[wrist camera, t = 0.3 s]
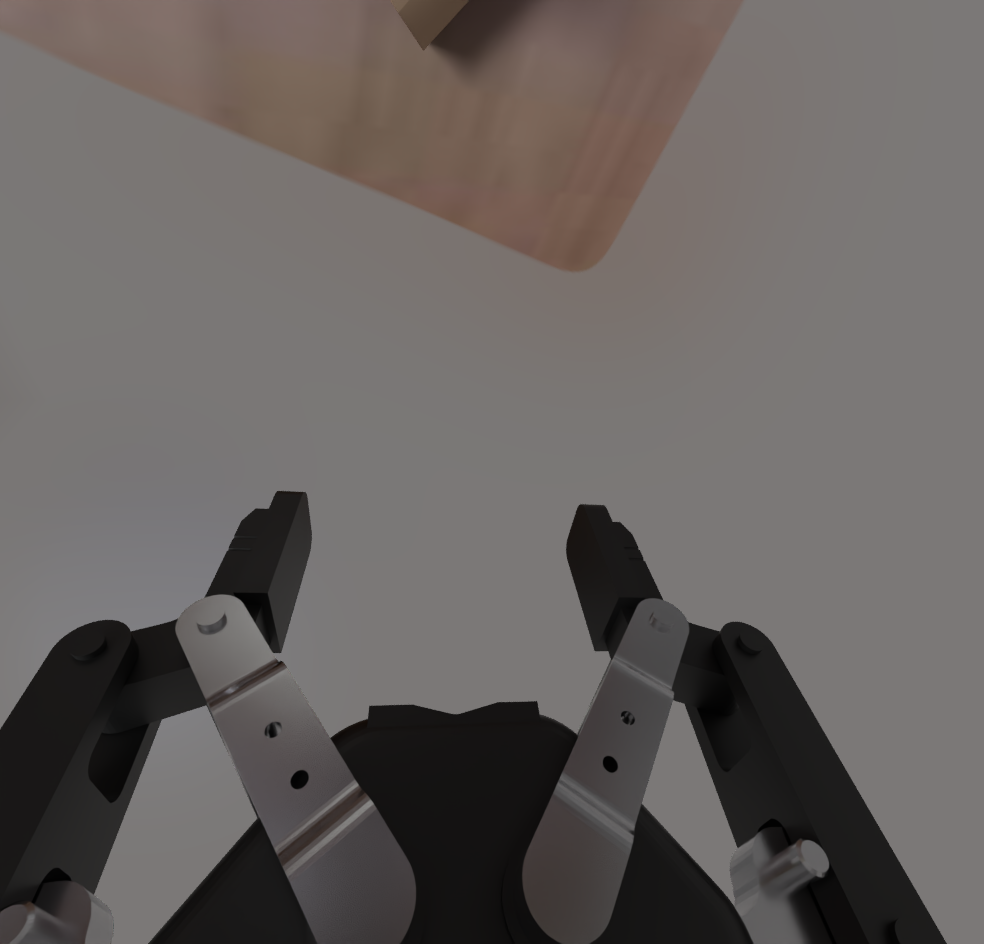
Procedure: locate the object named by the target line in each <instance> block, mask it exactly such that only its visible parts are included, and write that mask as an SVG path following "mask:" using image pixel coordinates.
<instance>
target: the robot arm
mask: <svg viewBox="0 0 984 944" xmlns="http://www.w3.org/2000/svg"><path fill="white" fill-rule="evenodd" d="M311 541H312V531H311V523H310V516H309V507H308V498H307V494H306V492H290V491H277V492H276V494H275V496H274V498H273V500H272V503H271V505H270V507H269V509H255V510H254V511H252V512H251V513H250V514H249V515H248V516H247V517H245V519H243V520H242V521H241V523H240V525H239V527H238V529H237V531H236V533H235V536H234V539H233V540H232V542H231V544H230V546H229V550H228V551H227V552H226V554H225V557H224V558H223V561H222V563H221V565H220V567H219V569H218V571H217V573H216V575H215V578H214V579H213V582H212V584H211V586H210V588H209V590H208V592H207V594H206V596H205V598H203V599H201V600H198V601H197V602H195V603H193V604H192V605H190V606H189V607H188V608H187V609H186V610H184V612H183V613H182V614H181V615H180V617H179V618H178V619H176V620H174V621H171V622H167V623H164V624H160V625H156V626H152V627H148V628H144V629H139V630H135V631H130V629H129V628H128V627H127V625H125V624H124V623H121V622H119V621H115V620H102V621H96V622H92V623H89V624H86V625H84V626H81V627H79V628H77V629H75V630H73V631H72V632H70V633H69V634H67V635H66V636H64V637H63V638H62V639H61V640H60V641H59V642H58V643H57V644H56V645H55V646H54V647H53V649H52V650H51V651H50V653H49V654H48V656H47V658H46V659H45V661H44V662H43V664H42V665H41V667H40V669H39V670H38V672H37V673H36V675H35V676H34V678H33V679H32V681H31V682H30V684H29V686H28V687H27V689H26V690H25V692H24V693H23V695H22V696H21V698H20V700H19V701H18V703H17V704H16V706H15V707H14V709H13V710H12V712H11V714H10V715H9V717H8V718H7V720H6V721H5V723H4V724H3V726H2V727H1V729H0V944H111V941H112V937H113V929H114V923H113V916H112V913H111V911H110V909H109V908H108V906H107V905H106V904H105V903H103V902H102V901H101V900H100V899H98V898H97V897H96V896H94V893H95V890H96V888H97V885H98V882H99V880H100V877H101V875H102V872H103V869H104V867H105V864H106V862H107V859H108V857H109V854H110V851H111V849H112V846H113V844H114V841H115V839H116V836H117V833H118V831H119V828H120V826H121V823H122V820H123V818H124V815H125V813H126V810H127V808H128V805H129V803H130V800H131V797H132V795H133V792H134V790H135V787H136V784H137V782H138V779H139V777H140V774H141V771H142V769H143V766H144V764H145V761H146V758H147V756H148V754H149V751H150V748H151V746H152V743H153V741H154V738H155V736H156V733H157V730H158V728H159V725H160V723H161V720H162V719H164V718H167V717H171V716H174V715H177V714H180V713H183V712H186V711H190V710H193V709H196V708H199V707H202V706H205V705H207V707H208V709H209V712H210V714H211V716H212V718H213V721H214V723H215V725H216V727H217V730H218V732H219V734H220V736H221V738H222V741H223V743H224V745H225V747H226V749H227V752H228V754H229V756H230V758H231V760H232V763H233V765H234V767H235V770H236V772H237V774H238V776H239V778H240V781H241V783H242V785H243V788H244V790H245V792H246V794H247V797H248V799H249V801H250V803H251V806H252V808H253V810H254V812H255V814H256V816H257V820H256V821H255V822H254V823H253V824H252V825H251V826H250V827H249V829H248V830H247V831H246V832H245V833H244V834H243V836H242V837H241V838H240V839H239V840H238V841H237V842H236V844H235V845H234V846H233V847H232V848H231V849H230V850H229V852H228V853H227V854H226V855H225V856H224V857H223V858H222V860H221V861H220V862H219V863H218V864H217V865H216V866H215V868H214V869H213V870H212V871H211V872H210V873H209V874H208V876H207V877H206V878H205V879H204V880H203V881H202V882H201V884H200V885H199V886H198V887H197V888H196V889H195V890H194V892H193V893H192V894H191V895H190V896H189V897H188V899H187V900H186V901H185V902H184V903H183V904H182V905H181V907H180V908H179V909H178V910H177V911H176V912H175V913H174V915H173V916H172V917H171V918H170V919H169V920H168V921H167V923H166V924H165V925H164V926H163V927H162V928H161V929H160V931H159V932H158V933H157V934H156V935H155V936H154V938H153V939H152V940H151V941H150V942H149V943H148V944H947V943H946V942H945V940H944V938H943V936H942V935H941V933H940V931H939V930H938V928H937V926H936V925H935V923H934V921H933V919H932V918H931V916H930V914H929V912H928V911H927V909H926V907H925V905H924V904H923V902H922V900H921V899H920V897H919V895H918V893H917V892H916V890H915V888H914V887H913V885H912V883H911V881H910V880H909V878H908V876H907V874H906V873H905V871H904V869H903V868H902V866H901V864H900V862H899V861H898V859H897V857H896V856H895V854H894V852H893V850H892V849H891V847H890V845H889V843H888V842H887V840H886V838H885V836H884V835H883V833H882V831H881V830H880V828H879V826H878V824H877V823H876V821H875V819H874V817H873V816H872V814H871V812H870V811H869V809H868V807H867V806H866V804H865V802H864V800H863V799H862V797H861V795H860V793H859V792H858V790H857V788H856V786H855V785H854V783H853V781H852V780H851V778H850V776H849V774H848V773H847V771H846V770H845V768H844V766H843V764H842V762H841V761H840V759H839V757H838V755H837V754H836V752H835V750H834V749H833V747H832V745H831V743H830V742H829V740H828V738H827V736H826V735H825V733H824V731H823V730H822V728H821V726H820V725H819V723H818V721H817V719H816V718H815V716H814V714H813V712H812V711H811V709H810V707H809V705H808V704H807V702H806V701H805V699H804V697H803V695H802V694H801V692H800V690H799V688H798V687H797V685H796V683H795V681H794V680H793V678H792V676H791V675H790V673H789V671H788V669H787V668H786V666H785V664H784V662H783V661H782V659H781V657H780V656H779V654H778V652H777V650H776V649H775V647H774V645H773V644H772V642H771V641H770V640H769V639H768V638H767V637H766V636H765V635H764V634H763V633H762V632H761V631H759V630H758V629H756V628H754V627H752V626H751V625H748V624H745V623H742V622H730V623H727V624H725V625H724V626H723V628H722V629H721V631H720V632H719V631H716V630H712V629H708V628H705V627H702V626H698V625H695V624H692V623H689V622H688V621H687V620H686V618H685V616H684V615H683V614H682V612H681V611H680V610H679V609H678V608H676V607H675V606H674V605H672V604H670V603H669V602H666V601H664V600H663V598H662V596H661V594H660V592H659V590H658V588H657V586H656V584H655V582H654V579H653V577H652V575H651V573H650V571H649V569H648V567H647V565H646V563H645V561H643V557H642V554H641V552H640V550H638V546H637V544H636V542H635V539H634V537H633V535H632V534H631V533H630V532H629V531H628V530H627V529H626V528H625V527H624V526H623V525H622V524H621V523H620V522H612V519H611V517H610V515H609V513H608V510H607V508H606V507H605V506H604V505H586V504H585V505H584V504H581V505H579V506H578V508H577V511H576V514H575V517H574V520H573V523H572V526H571V530H570V533H569V536H568V539H567V547H566V554H567V560H568V563H569V567H570V570H571V573H572V577H573V580H574V583H575V586H576V590H577V593H578V597H579V600H580V603H581V607H582V610H583V613H584V617H585V620H586V624H587V627H588V630H589V634H590V637H591V640H592V644H593V647H594V650H595V651H609V654H610V658H611V661H610V663H609V665H608V667H607V669H606V671H605V673H604V676H603V678H602V680H601V682H600V684H599V686H598V689H597V691H596V693H595V695H594V697H593V699H592V702H591V704H590V706H589V708H588V710H587V712H586V715H585V717H584V719H583V721H582V723H581V725H580V727H579V729H578V732H577V734H576V733H574V732H573V731H572V730H571V729H569V728H568V727H566V726H565V725H563V724H562V723H560V722H558V721H556V720H554V719H551V718H549V717H546V716H543V715H540V714H539V710H538V703H537V701H536V702H535V701H534V702H498V703H494V704H491V705H488V706H484V707H481V708H478V709H475V710H472V711H468V712H465V713H461V714H449V713H445V712H441V711H436V710H432V709H428V708H424V707H420V706H415V705H386V706H385V705H384V706H369V716H368V719H366V720H363V721H360V722H358V723H355V724H353V725H351V726H348V727H347V728H345V729H343V730H341V731H340V732H338V733H337V734H335V735H334V736H333V737H331V738H330V737H329V736H328V734H327V732H326V731H325V729H324V727H323V726H322V724H321V722H320V721H319V719H318V717H317V716H316V714H315V712H314V711H313V709H312V707H311V706H310V704H309V702H308V701H307V699H306V697H305V696H304V694H303V693H302V691H301V689H300V688H299V686H298V684H297V683H296V681H295V679H294V678H293V676H292V674H291V673H290V671H289V669H288V668H287V667H286V665H285V664H284V663H283V662H282V661H280V662H278V660H277V659H276V658H275V656H274V654H273V653H281V651H282V648H283V644H284V641H285V637H286V634H287V630H288V627H289V624H290V620H291V616H292V613H293V610H294V606H295V602H296V599H297V595H298V592H299V589H300V585H301V582H302V578H303V574H304V571H305V568H306V564H307V561H308V557H309V554H310V549H311ZM673 700H675V701H678V702H681V703H684V704H685V706H686V709H687V712H688V714H689V717H690V720H691V723H692V725H693V728H694V730H695V734H696V736H697V739H698V742H699V744H700V747H701V750H702V753H703V755H704V758H705V761H706V763H707V766H708V769H709V772H710V774H711V777H712V779H713V782H714V785H715V788H716V791H717V793H718V796H719V799H720V801H721V804H722V807H723V810H724V812H725V815H726V818H727V820H728V823H729V826H730V829H731V831H732V834H733V837H734V839H735V842H736V845H737V847H738V849H737V850H736V851H735V852H734V854H733V856H732V858H731V862H730V876H731V880H732V885H733V893H734V897H735V907H734V906H733V904H732V903H731V901H730V900H729V899H728V897H727V896H726V895H725V894H724V892H723V891H722V890H721V889H720V888H719V887H718V886H717V885H716V884H715V883H714V881H713V880H712V879H711V878H710V877H709V876H708V875H707V874H706V873H705V872H704V870H703V869H702V868H701V867H700V866H699V865H698V864H697V863H696V862H695V861H694V860H693V859H692V858H691V856H690V855H689V854H688V853H687V852H686V851H685V850H684V849H683V848H682V847H681V846H680V844H678V842H677V841H676V840H675V839H674V838H673V837H672V836H671V835H670V834H669V833H668V831H667V830H666V829H665V828H664V827H663V826H662V825H661V824H660V823H659V822H658V821H657V820H656V818H655V817H654V816H653V815H652V814H651V813H650V812H649V811H648V810H647V809H646V808H645V807H644V805H642V800H643V797H644V794H645V791H646V787H647V784H648V781H649V777H650V774H651V771H652V767H653V764H654V761H655V758H656V754H657V751H658V748H659V744H660V741H661V738H662V734H663V731H664V728H665V725H666V721H667V718H668V715H669V711H670V708H671V705H672V701H673Z"/></svg>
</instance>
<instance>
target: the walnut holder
mask: <svg viewBox="0 0 984 944" xmlns="http://www.w3.org/2000/svg"><path fill="white" fill-rule="evenodd" d="M390 1H391V3H392V4H393V6H394V7H395V9H396V10H397V12H398V13H399V15H400V16H401V18H402V19H403V21H404V22H405V24H406V25H407V27H408V28H409V30H410V31H411V33H412V34H413V36H414V37H415V39H416V40H417V42H418V43H419V45H420V47H421V48H422V50H423V51H424V49H425V48H426V47H427V46H428V45H429V44H430V43H431V42H432V41H433V40H434V38H435V37H436V36H437V35H438V34H439V33H440V32H441V31H442V30H443V29H444V27H445V26H446V25H447V24H448V23H449V22H450V21H451V20H452V19H453V18H454V16H455V15H456V14H457V13H458V12H459V11H460V10H461V9H462V8H463V7H464V6H465V4H466V3H467V2H468V1H469V0H390Z"/></svg>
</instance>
